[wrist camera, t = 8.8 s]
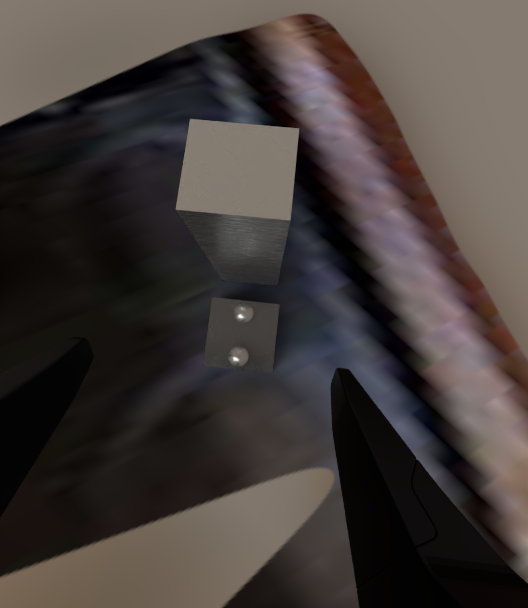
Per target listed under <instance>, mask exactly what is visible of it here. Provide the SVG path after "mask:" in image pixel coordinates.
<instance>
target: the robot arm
mask: <svg viewBox="0 0 528 608" xmlns="http://www.w3.org/2000/svg"><path fill="white" fill-rule="evenodd" d="M93 357H94V355H93V351H92V349H91V346H90V344H89V341H88V340H87V339H86V338H79V337H74V338H71V339H69V340H67V341H65V342H63V343H61V344H59V345H57V346H55V347H53V348H52V349H50V350H48V351H46V352H44V353H42V354H40V355H38V356H36V357H34V358H32V359H30V360H28V361H26V362H24V363H22V364H20V365H18V366H16V367H14V368H12V369H10V370H8V371H6V372H4V373H2V374H0V518H1V516H2V514H3V513H4V511H5V510H6V508H7V506H8V505H9V503H10V501H11V500H12V498H13V497H14V495H15V493H16V492H17V490H18V489H19V487H20V485H21V484H22V482H23V481H24V479H25V477H26V476H27V474H28V472H29V471H30V469H31V468H32V466H33V464H34V463H35V461H36V460H37V458H38V456H39V455H40V453H41V451H42V450H43V448H44V447H45V445H46V443H47V442H48V440H49V439H50V437H51V435H52V434H53V432H54V430H55V429H56V427H57V426H58V424H59V422H60V421H61V419H62V418H63V416H64V414H65V413H66V411H67V410H68V408H69V406H70V405H71V403H72V401H73V400H74V398H75V396H76V394H77V392H78V390H79V388H80V386H81V384H82V382H83V380H84V378H85V376H86V373H87V371H88V369H89V367H90V365H91V363H92V361H93ZM331 410H332V431H333V438H334V445H335V451H336V458H337V464H338V471H339V477H340V484H341V490H342V497H343V503H344V510H345V516H346V523H347V529H348V536H349V542H350V549H351V555H352V562H353V568H354V575H355V581H356V587H357V595H358V601H359V608H528V583H527V582H525V581H524V580H523V579H522V578H521V577H520V576H519V575H518V574H517V573H516V572H515V571H514V570H513V569H511V568H510V567H509V566H508V564H507V563H506V562H505V561H504V560H503V559H502V558H501V557H500V556H499V555H498V554H497V552H496V551H495V550H494V549H493V548H492V547H491V546H490V545H489V543H488V542H487V541H486V540H485V539H484V538H483V537H482V536H481V534H480V533H479V532H478V531H477V530H476V529H475V528H474V526H473V525H472V524H471V523H470V522H469V521H468V520H467V519H466V517H465V516H464V515H463V514H462V513H461V512H460V511H459V510H458V508H457V507H456V506H455V505H454V504H453V503H452V501H451V500H450V499H449V498H448V497H447V496H446V494H445V493H444V492H443V491H442V490H441V488H440V487H439V486H438V485H437V483H436V482H435V481H434V480H433V478H432V477H431V476H430V475H429V473H428V472H427V471H426V470H425V468H424V467H423V466H422V464H421V463H420V462H419V460H416V457H415V455H414V454H413V453H412V451H411V450H410V449H409V447H408V446H407V445H406V443H405V442H404V441H403V440H402V438H401V437H400V436H399V434H398V433H397V432H396V430H395V429H394V428H393V426H392V425H391V424H390V423H389V421H388V420H387V419H386V417H385V416H384V415H383V413H382V412H381V411H380V409H379V408H378V407H377V405H376V404H375V403H374V402H373V400H372V399H371V398H370V396H369V395H368V394H367V392H366V391H365V390H364V388H363V387H362V386H361V385H360V383H359V382H358V381H357V379H356V378H355V377H354V375H353V374H352V373H351V371H350V370H349V369H344V368H337V369H336V371H335V373H334V376H333V379H332V382H331Z"/></svg>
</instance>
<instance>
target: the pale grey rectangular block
mask: <svg viewBox="0 0 528 608" xmlns="http://www.w3.org/2000/svg"><path fill="white" fill-rule="evenodd" d="M298 135H299V129H297V128H286V127H275V126H263V125H252V124H241V123H229V122H218V121H206V120H195V119H190V124H189V130H188V136H187V143H186V149H185V155H184V161H183V168H182V174H181V180H180V186H179V193H178V199H177V205H176V211H177V212H178V214H179V215H180V217H181V218H182V220H183V221H184V223H185V224H186V226H187V227H188V229H189V230H190V232H191V233H192V235H193V236H194V238H195V239H196V241H197V242H198V244H199V246H200V247H201V249H202V250H203V252H204V253H205V255H206V256H207V258H208V259H209V261H210V262H211V264H212V265H213V267H214V268H215V270H216V271H217V273H218V274H219V276H220V277H221V279H222V280H223V281H230V282H240V283H250V284H260V285H270V286H277V285H278V280H279V275H280V270H281V265H282V260H283V255H284V250H285V245H286V240H287V235H288V230H289V225H290V220H291V210H292V199H293V188H294V177H295V167H296V156H297V145H298Z"/></svg>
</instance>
